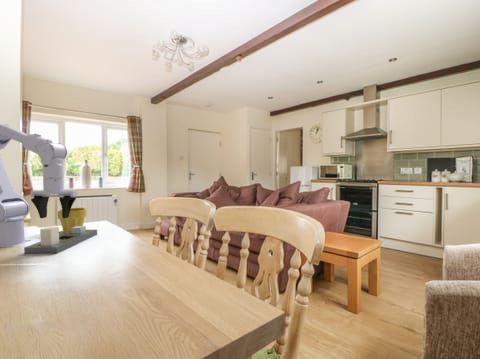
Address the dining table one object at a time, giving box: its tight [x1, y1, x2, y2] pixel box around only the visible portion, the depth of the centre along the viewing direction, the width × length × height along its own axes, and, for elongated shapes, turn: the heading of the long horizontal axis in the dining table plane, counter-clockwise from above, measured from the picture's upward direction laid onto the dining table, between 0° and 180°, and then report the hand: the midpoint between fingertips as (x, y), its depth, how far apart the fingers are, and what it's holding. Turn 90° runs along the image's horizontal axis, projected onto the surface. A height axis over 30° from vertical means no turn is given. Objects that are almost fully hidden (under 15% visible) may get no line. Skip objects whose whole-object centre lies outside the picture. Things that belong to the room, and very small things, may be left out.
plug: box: [39, 226, 60, 246], centre depth 85 cm, size 4×4×7 cm
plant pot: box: [57, 207, 87, 233], centre depth 112 cm, size 10×10×10 cm
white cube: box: [71, 225, 87, 234], centre depth 101 cm, size 4×4×4 cm
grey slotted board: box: [23, 229, 98, 255], centre depth 93 cm, size 10×24×2 cm, turn 1°
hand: (54, 217), depth 90 cm, fingers open, 7 cm apart
